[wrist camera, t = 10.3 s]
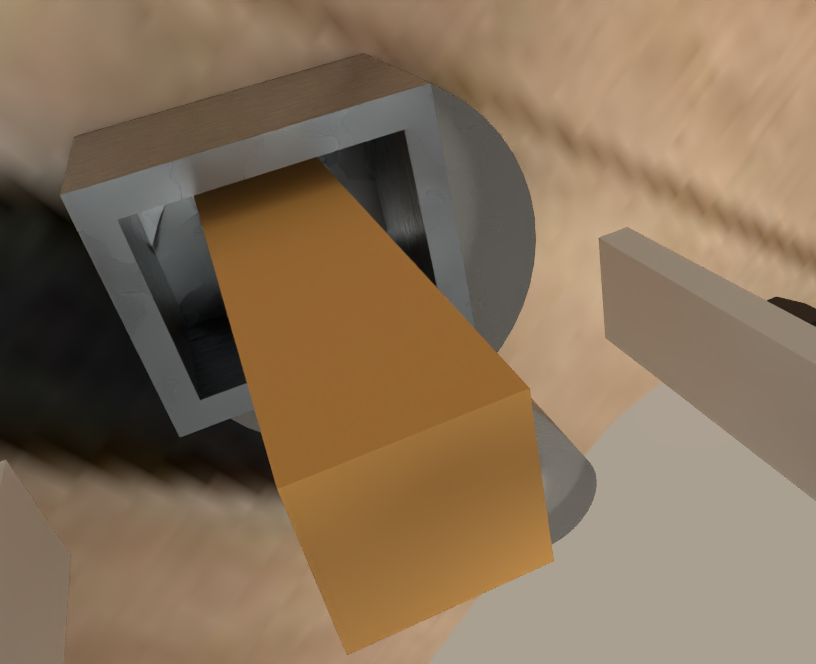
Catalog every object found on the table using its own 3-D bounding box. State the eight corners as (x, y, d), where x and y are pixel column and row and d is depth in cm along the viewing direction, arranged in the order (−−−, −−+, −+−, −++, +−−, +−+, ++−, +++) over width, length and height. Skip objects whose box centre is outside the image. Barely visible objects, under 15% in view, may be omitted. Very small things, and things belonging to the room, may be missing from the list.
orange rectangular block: (229, 284, 25) (347, 654, 12) (189, 180, 23) (276, 489, 10) (334, 249, 26) (553, 561, 13) (304, 144, 24) (529, 388, 11)
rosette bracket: (229, 472, 31) (274, 692, 22) (74, 136, 23) (42, 262, 14) (536, 352, 34) (690, 503, 25) (492, 16, 26) (695, 54, 17)
